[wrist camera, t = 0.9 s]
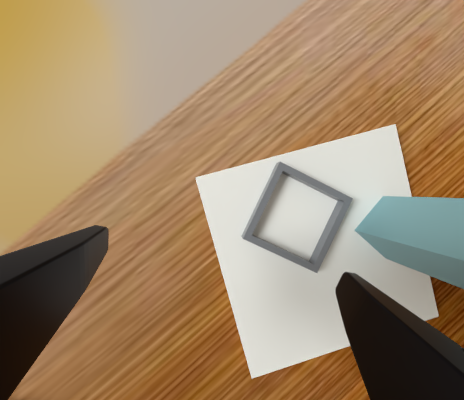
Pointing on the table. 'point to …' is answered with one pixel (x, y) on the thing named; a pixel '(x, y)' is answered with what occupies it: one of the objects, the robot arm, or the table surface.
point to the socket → (327, 233)
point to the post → (419, 234)
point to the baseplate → (307, 246)
